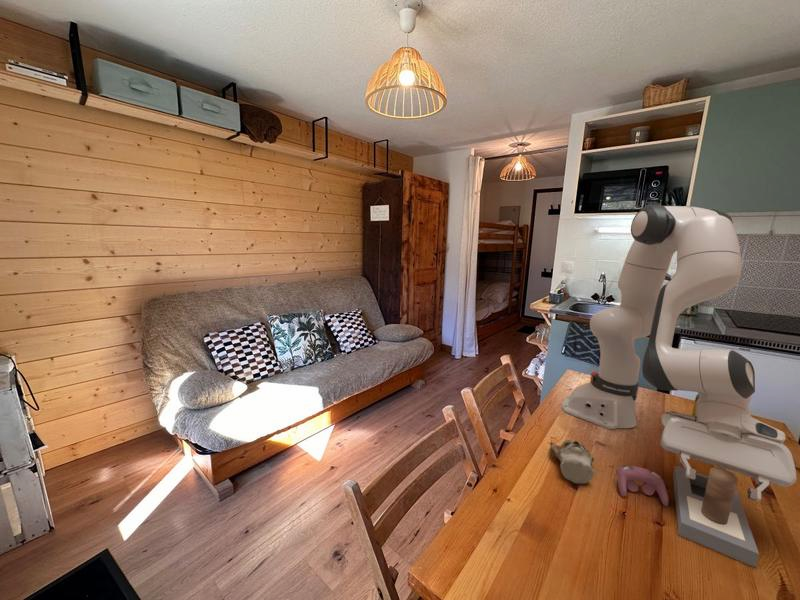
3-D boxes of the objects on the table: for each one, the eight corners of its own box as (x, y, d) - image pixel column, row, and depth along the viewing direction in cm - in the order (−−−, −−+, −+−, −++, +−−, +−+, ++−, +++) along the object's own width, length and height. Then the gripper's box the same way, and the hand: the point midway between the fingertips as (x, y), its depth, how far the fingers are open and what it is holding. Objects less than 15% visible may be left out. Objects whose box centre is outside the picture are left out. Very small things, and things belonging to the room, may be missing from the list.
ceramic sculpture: (556, 451, 80) (551, 423, 94) (552, 483, 81) (547, 451, 95) (607, 462, 76) (593, 431, 90) (602, 496, 77) (589, 460, 91)
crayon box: (700, 433, 104) (707, 399, 102) (688, 429, 106) (694, 395, 104) (705, 425, 109) (711, 392, 107) (693, 421, 111) (699, 389, 109)
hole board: (678, 535, 67) (681, 521, 67) (673, 475, 84) (675, 464, 84) (755, 567, 61) (759, 553, 60) (732, 496, 78) (735, 484, 77)
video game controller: (662, 502, 78) (660, 470, 79) (671, 508, 73) (669, 474, 75) (614, 492, 81) (614, 461, 82) (620, 496, 76) (620, 464, 78)
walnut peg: (702, 517, 68) (711, 475, 66) (700, 505, 71) (708, 464, 69) (729, 528, 65) (739, 484, 63) (725, 514, 68) (735, 472, 67)
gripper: (664, 403, 76) (658, 462, 70) (797, 436, 64) (803, 511, 58) (660, 413, 81) (654, 469, 75) (784, 445, 68) (789, 516, 63)
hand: (720, 488), depth 66 cm, fingers open, 8 cm apart
